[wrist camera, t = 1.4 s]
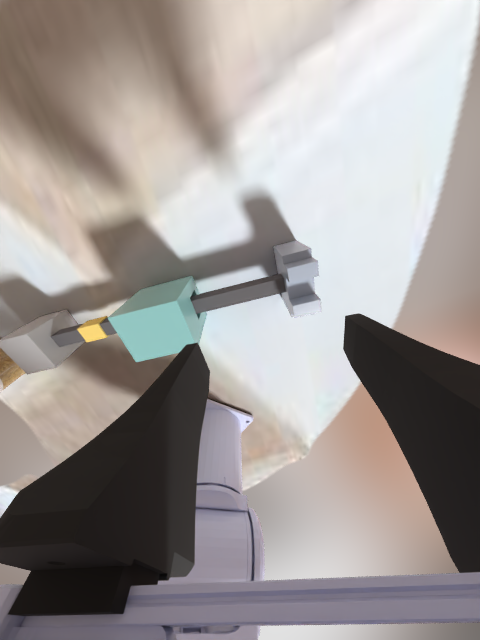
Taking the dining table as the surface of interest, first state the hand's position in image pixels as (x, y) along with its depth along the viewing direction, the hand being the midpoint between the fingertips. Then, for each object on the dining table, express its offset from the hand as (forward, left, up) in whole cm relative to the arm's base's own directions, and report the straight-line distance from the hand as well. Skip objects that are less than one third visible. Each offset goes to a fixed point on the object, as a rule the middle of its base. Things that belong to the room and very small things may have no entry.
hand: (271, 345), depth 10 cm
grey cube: (-14, +14, -10) cm, 23 cm away
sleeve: (-6, +6, -10) cm, 13 cm away
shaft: (-6, +6, -9) cm, 12 cm away
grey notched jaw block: (+2, -2, -10) cm, 11 cm away
